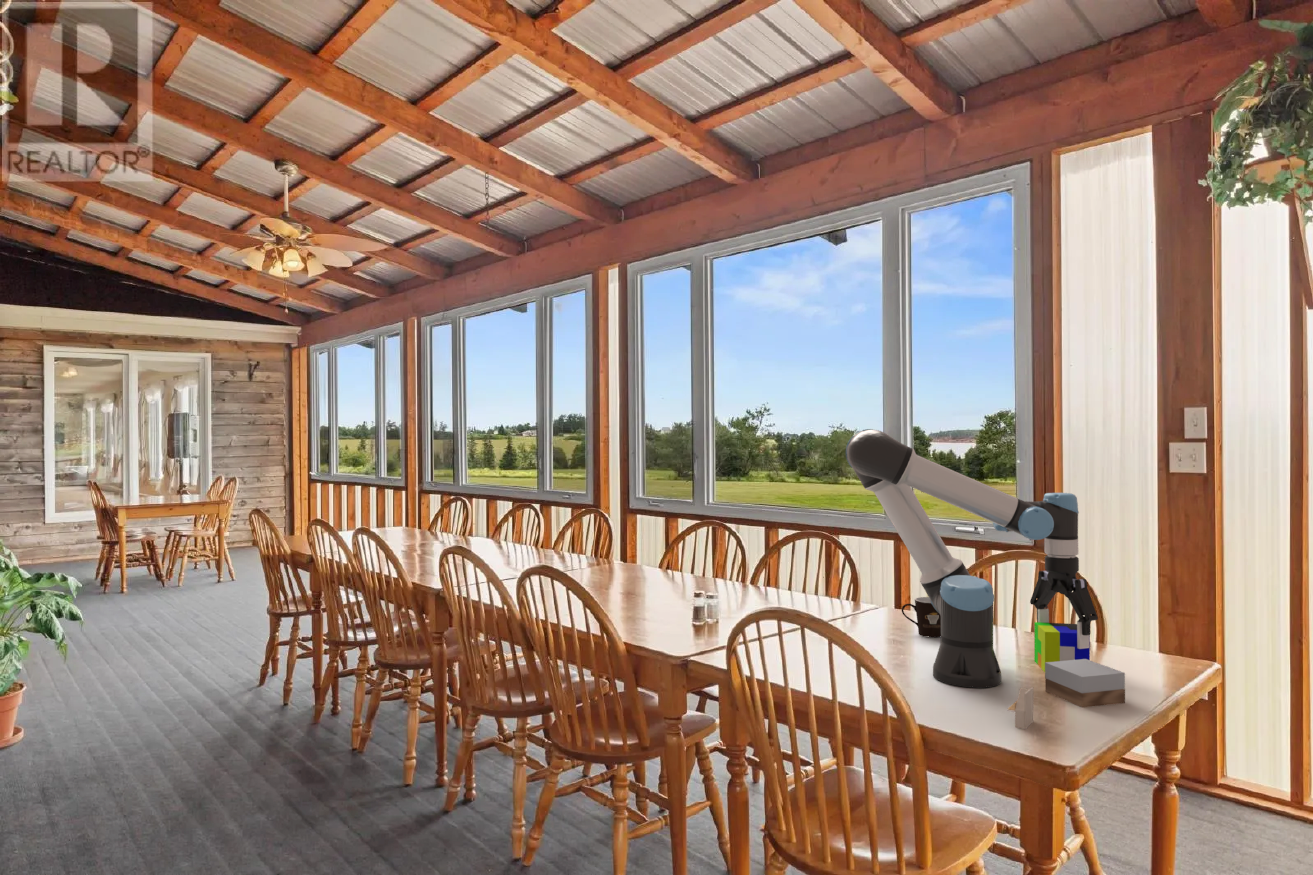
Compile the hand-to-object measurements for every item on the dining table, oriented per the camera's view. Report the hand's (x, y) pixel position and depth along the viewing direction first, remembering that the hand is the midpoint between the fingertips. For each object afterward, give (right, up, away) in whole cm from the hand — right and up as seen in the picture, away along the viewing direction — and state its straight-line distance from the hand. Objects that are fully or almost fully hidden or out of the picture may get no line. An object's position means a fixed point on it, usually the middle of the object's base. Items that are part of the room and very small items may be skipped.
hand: (1062, 641), depth 201 cm
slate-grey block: (-6, -4, -22) cm, 23 cm away
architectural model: (-27, -8, -38) cm, 47 cm away
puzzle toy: (0, -7, 0) cm, 7 cm away
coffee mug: (-23, -7, +34) cm, 41 cm away
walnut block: (-6, -7, -22) cm, 24 cm away
